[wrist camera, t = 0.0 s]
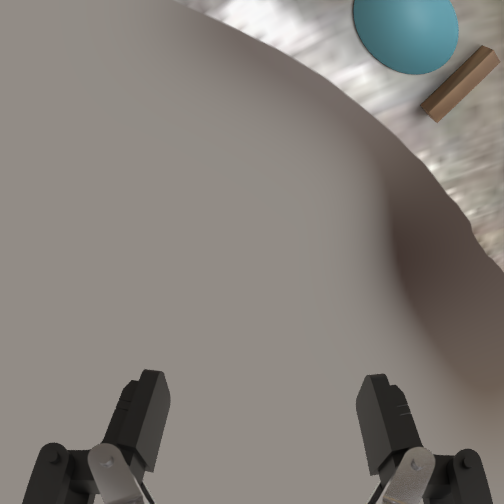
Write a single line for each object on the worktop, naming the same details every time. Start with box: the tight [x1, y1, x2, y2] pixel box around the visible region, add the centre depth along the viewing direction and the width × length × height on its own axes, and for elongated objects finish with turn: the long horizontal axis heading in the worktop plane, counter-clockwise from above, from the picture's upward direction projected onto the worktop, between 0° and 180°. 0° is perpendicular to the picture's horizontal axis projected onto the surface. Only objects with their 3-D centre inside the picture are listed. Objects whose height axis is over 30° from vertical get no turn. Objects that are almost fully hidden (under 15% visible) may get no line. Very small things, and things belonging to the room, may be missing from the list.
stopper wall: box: [420, 46, 500, 123], centre depth 26 cm, size 2×14×2 cm, turn 145°
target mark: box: [353, 0, 459, 74], centre depth 22 cm, size 14×14×1 cm
